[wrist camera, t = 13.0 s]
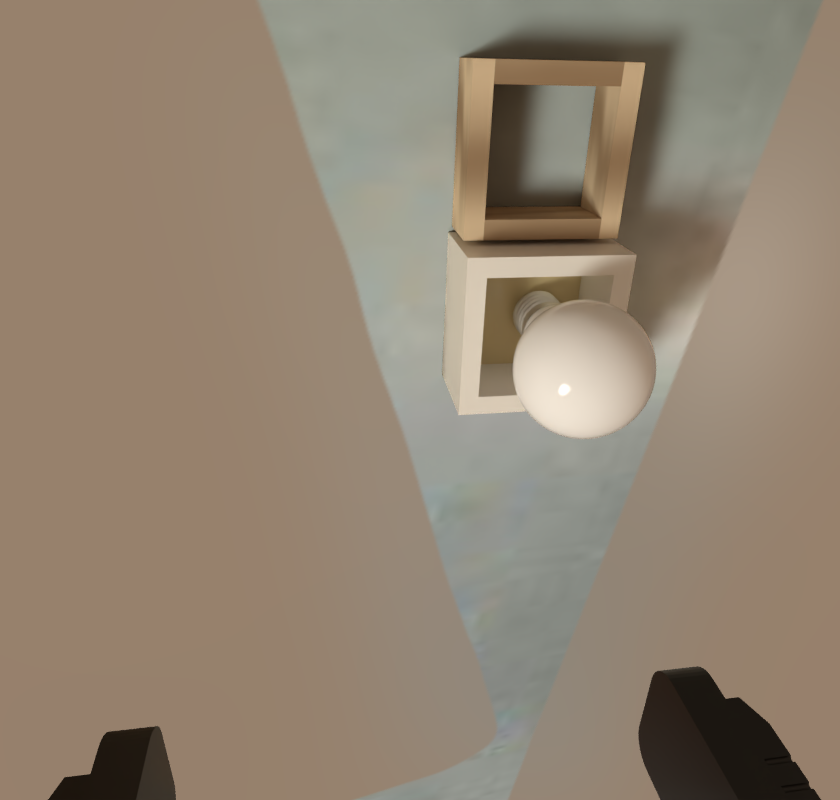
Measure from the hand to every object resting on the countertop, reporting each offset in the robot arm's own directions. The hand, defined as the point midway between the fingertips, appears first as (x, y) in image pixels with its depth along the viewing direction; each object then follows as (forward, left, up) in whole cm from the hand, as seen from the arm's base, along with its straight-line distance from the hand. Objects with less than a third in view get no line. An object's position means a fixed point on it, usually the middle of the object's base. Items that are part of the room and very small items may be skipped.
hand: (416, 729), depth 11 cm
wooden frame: (-5, +10, -28) cm, 30 cm away
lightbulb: (+3, +11, -27) cm, 29 cm away
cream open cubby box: (+3, +10, -28) cm, 30 cm away
